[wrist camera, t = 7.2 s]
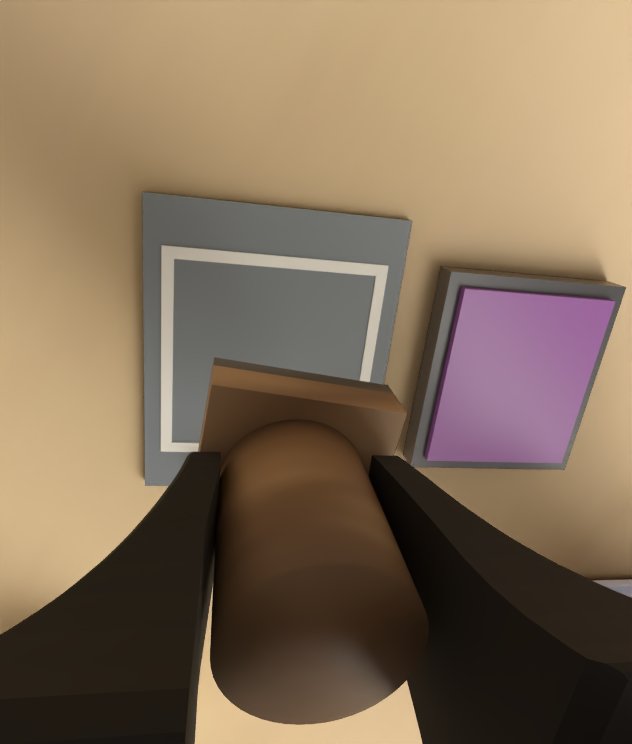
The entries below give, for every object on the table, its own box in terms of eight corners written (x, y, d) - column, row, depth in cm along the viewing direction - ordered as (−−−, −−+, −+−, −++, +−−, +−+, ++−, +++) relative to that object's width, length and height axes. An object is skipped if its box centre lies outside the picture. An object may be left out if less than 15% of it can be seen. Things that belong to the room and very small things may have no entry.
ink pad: (608, 281, 20) (631, 289, 19) (551, 457, 23) (568, 473, 22) (440, 266, 19) (454, 273, 18) (403, 454, 22) (412, 470, 21)
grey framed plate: (409, 220, 18) (417, 222, 17) (364, 483, 22) (369, 496, 21) (143, 191, 17) (139, 193, 16) (146, 481, 21) (142, 494, 20)
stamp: (387, 385, 13) (498, 547, 8) (345, 524, 15) (412, 744, 9) (213, 357, 12) (199, 520, 7) (187, 509, 14) (157, 744, 8)
